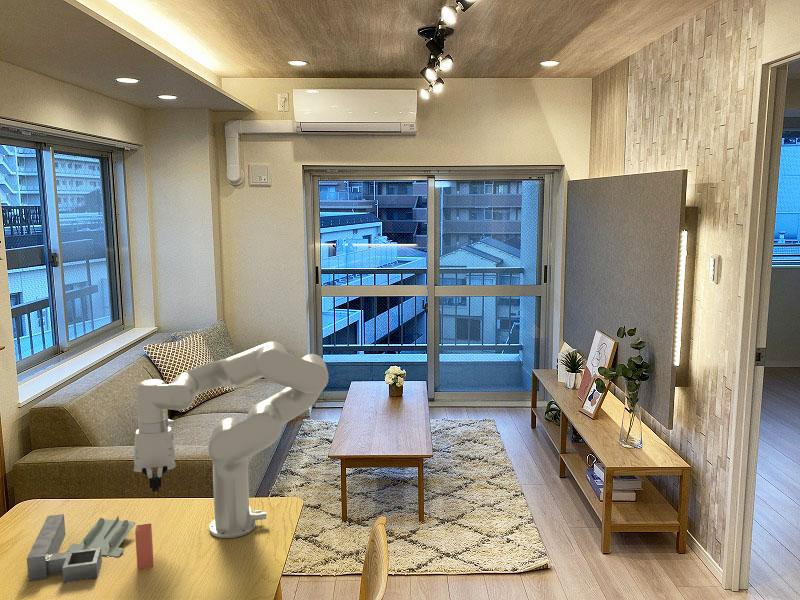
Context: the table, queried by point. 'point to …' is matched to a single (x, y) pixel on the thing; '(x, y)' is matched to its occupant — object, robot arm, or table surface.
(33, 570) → the grey socket fixture
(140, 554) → the red rectangular block
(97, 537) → the metal bracket
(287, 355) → the robot arm
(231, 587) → the table surface
